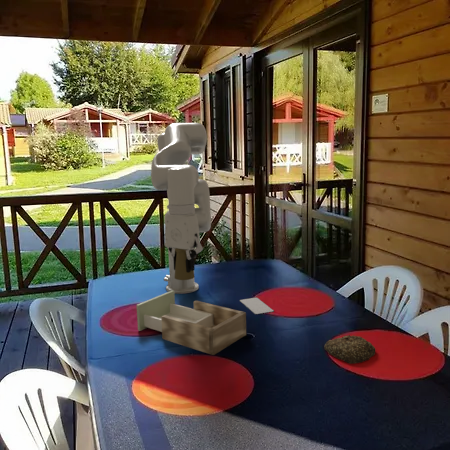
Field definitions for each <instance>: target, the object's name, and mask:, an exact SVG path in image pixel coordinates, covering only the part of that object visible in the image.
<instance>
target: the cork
mask: <svg viewBox="0 0 450 450" xmlns="http://www.w3.org/2000/svg"><path fill="white" fill-rule="evenodd" d="M175 251H176V252H177V255H176V266H175V279H177V280H189V279H193V278H194V279H195V270H194V271H190V272H189V273H188V272H186V259H187V254H186V250H182V249H178V248H175ZM190 252H191V250H190Z"/></svg>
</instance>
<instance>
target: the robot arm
mask: <svg viewBox="0 0 450 450" xmlns="http://www.w3.org/2000/svg"><path fill="white" fill-rule="evenodd" d="M207 142H208V135H207V130H206V128H205V126H204V125H203V124H202V123H200V122H176V123H175V122H174V123H171V124H169V125H168V126H167V127H165V130H164V132H162V133H161V134H159V135H158V136H157V141H156V143H157V149H158V152H157V153H156V154H155V155H154V157H153V158H152V161H151V164H150V165H151V170H150V171H151V172H150V173H151V174H150V178H151V180H150V181H151V184H152V187H153V188H154V189H156V190H157V191H166V193H167V194H166V195H167V201H168V204H167V206H166V208H167V211H166V213H164V214H165V215H164V225H165V228H164V230H165V231H164V239H165V240H164V246H165V247H166V248H167V250H168V268H169V269H168V272H169V274H166V275H165V277H164V278H163V282H167V285H166V287H165V290H166V292H169V291H172V290H173V291H174V293H175V294H178V295H180V294H182V295H183V294H190V293H193V292H196V291H197V290H199V284H198V283H197V282H195V277H194V278H193V279H189V280H177V279H175V266H176V255H177V252H176V251H175V248H178V249H182V250H186V254H187V259H186V272H188V273H189V272H190V271H194V272H195V267H196V265H195V258H197V255H198V254H199V253H201V252H202V251H204V248H203V246H202V244H201V242H200V240H201V238H200V233H207V232H209V231H210V230H211V226H212V213H211V195H210V194H211V193H210V187H209V183H208V182H207V181H206V179H202V178H200V174H199V171H198V169H197V168H196V166H194V165H192V164H187V163H186V162H187V161H188V160H190V157H191V155H202V154H203V153H204V151H206V146H207ZM195 205H196V206H197V207H195ZM190 250H191V252H190Z"/></svg>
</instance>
